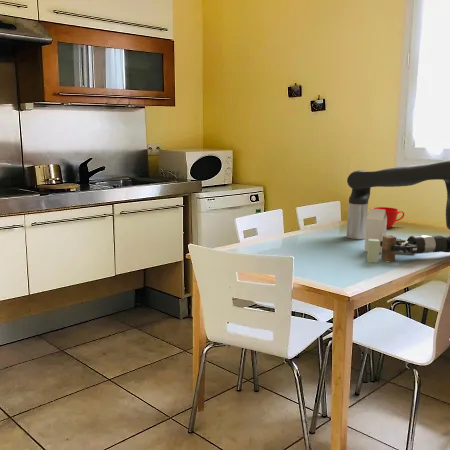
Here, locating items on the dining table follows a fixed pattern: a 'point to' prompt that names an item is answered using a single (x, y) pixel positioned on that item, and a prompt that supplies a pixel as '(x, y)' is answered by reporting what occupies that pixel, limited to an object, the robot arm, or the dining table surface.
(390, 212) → the ceramic cup
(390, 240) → the walnut block
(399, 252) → the grey slab
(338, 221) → the dining table surface
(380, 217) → the milk carton
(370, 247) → the sage block
